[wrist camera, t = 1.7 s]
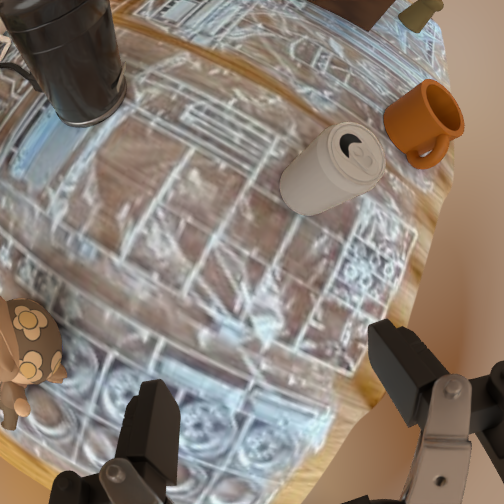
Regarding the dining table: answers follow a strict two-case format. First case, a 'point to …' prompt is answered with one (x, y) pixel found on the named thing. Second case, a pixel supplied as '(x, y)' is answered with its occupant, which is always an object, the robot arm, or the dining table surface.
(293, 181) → the beverage can
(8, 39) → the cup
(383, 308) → the dining table surface
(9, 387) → the action figure
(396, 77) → the dining table surface
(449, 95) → the mug
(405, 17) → the pepper shaker
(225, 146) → the dining table surface
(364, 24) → the box
